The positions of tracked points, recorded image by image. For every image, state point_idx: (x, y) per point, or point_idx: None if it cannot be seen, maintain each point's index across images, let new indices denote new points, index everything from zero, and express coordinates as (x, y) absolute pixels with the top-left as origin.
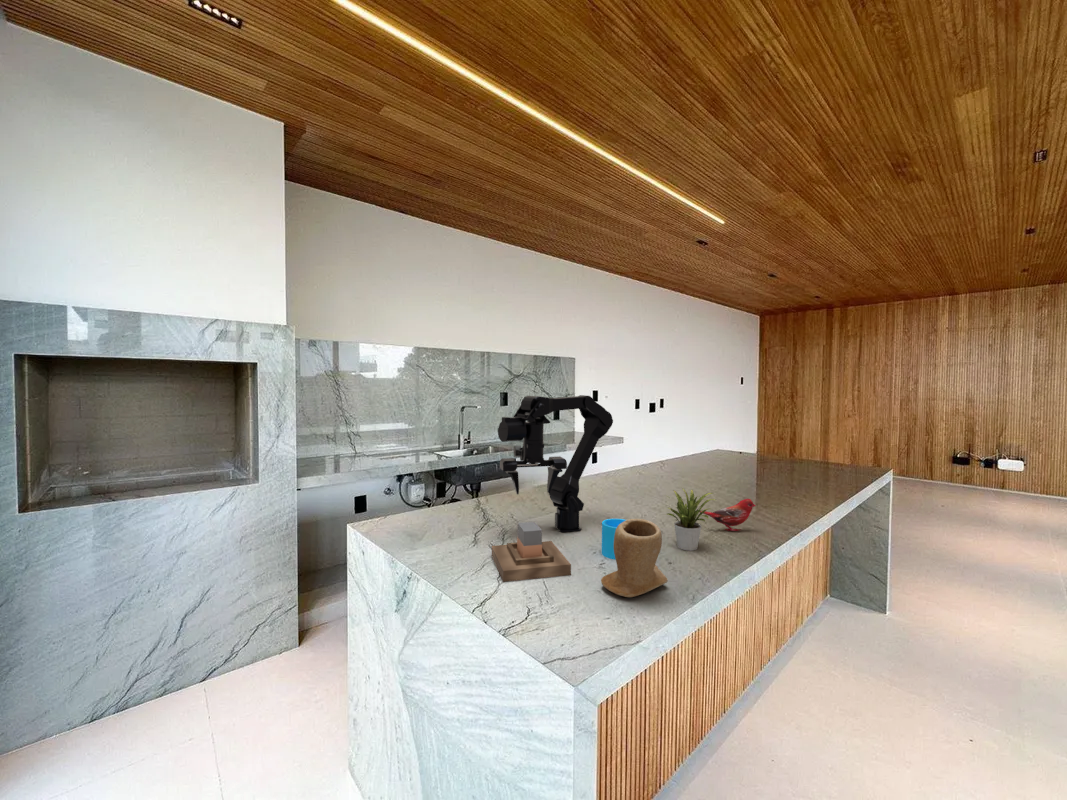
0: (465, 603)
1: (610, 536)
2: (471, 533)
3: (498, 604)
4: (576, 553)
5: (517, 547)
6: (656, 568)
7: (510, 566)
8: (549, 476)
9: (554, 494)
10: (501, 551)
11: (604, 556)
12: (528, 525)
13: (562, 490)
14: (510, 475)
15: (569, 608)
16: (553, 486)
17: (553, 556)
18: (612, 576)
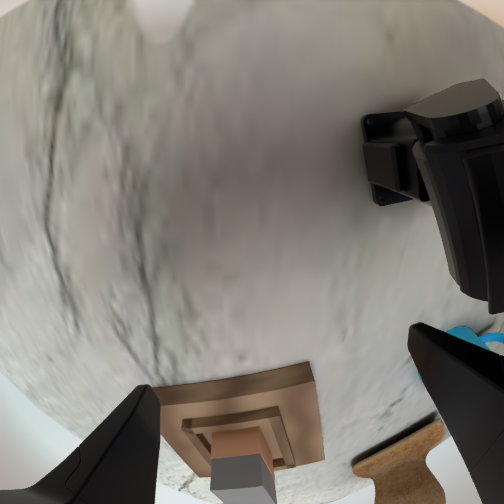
0: (164, 483)
1: None
2: (35, 221)
3: (205, 487)
4: (368, 370)
5: (213, 437)
6: (436, 445)
7: (209, 470)
8: (489, 433)
9: (454, 225)
10: (174, 432)
11: (418, 373)
12: (243, 498)
13: (498, 312)
14: (39, 492)
15: (293, 488)
16: (494, 203)
17: (299, 445)
18: (370, 469)
